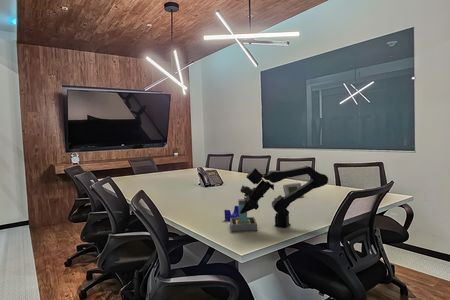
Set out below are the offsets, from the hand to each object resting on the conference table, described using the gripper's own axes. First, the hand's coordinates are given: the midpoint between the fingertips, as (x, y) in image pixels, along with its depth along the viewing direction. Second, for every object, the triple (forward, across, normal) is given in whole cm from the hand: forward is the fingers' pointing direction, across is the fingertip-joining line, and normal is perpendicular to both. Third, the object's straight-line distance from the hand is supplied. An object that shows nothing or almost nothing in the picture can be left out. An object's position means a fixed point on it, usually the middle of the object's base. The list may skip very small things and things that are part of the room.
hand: (240, 212), depth 156 cm
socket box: (+5, 0, +7) cm, 8 cm away
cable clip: (+8, -19, +4) cm, 21 cm away
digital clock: (-26, -66, +38) cm, 80 cm away
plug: (+4, 0, +6) cm, 7 cm away
